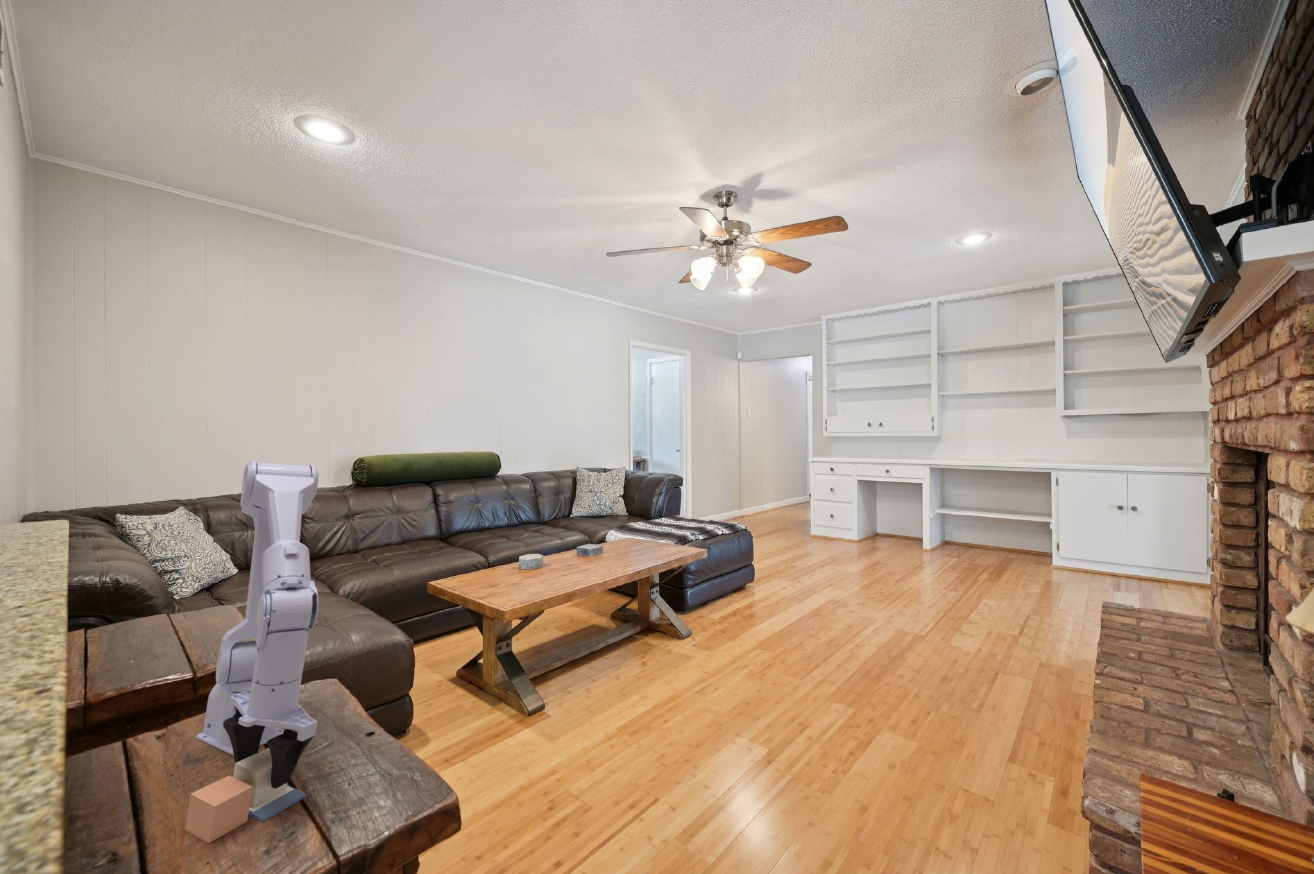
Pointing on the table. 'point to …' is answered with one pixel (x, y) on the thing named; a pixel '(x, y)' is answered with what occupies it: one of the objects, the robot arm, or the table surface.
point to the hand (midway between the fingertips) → (262, 775)
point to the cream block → (258, 777)
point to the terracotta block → (218, 808)
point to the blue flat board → (276, 804)
